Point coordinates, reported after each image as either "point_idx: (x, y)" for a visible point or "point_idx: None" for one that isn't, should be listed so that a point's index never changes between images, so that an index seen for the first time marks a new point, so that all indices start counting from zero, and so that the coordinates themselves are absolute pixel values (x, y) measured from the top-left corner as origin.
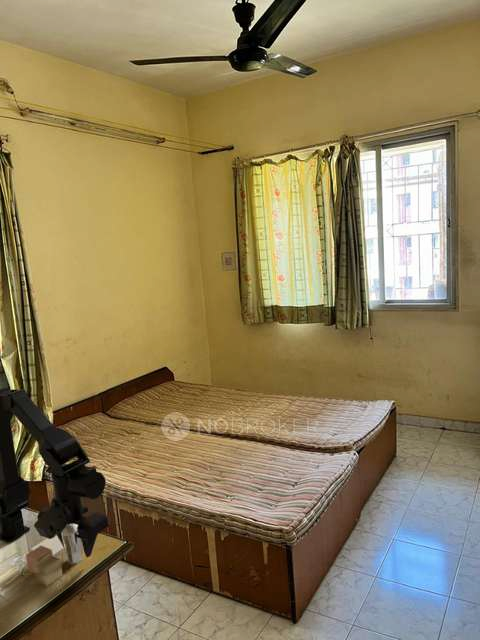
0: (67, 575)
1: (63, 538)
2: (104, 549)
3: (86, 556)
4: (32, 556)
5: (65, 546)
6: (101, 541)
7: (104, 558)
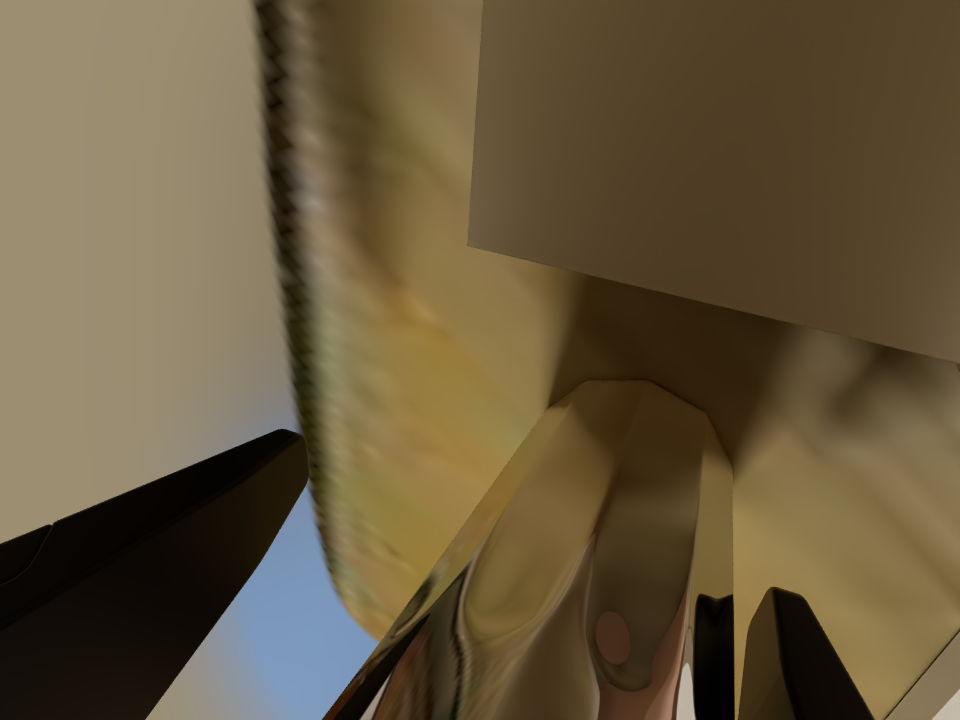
0: None
1: None
2: None
3: (280, 437)
4: None
5: (596, 611)
6: None
7: (336, 486)
